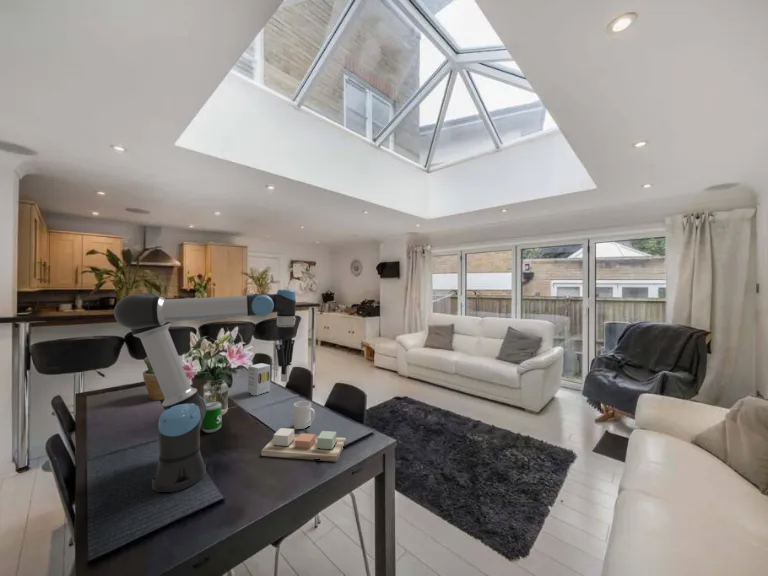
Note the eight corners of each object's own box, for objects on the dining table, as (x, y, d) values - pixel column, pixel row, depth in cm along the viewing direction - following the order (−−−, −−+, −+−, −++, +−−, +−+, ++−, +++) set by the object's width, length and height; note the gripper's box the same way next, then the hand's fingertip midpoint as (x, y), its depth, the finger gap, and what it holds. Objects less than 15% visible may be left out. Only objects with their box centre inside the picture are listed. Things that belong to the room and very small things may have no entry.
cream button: (288, 446, 122) (288, 435, 122) (273, 444, 123) (273, 434, 123) (294, 438, 128) (294, 428, 128) (280, 437, 129) (280, 428, 129)
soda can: (213, 434, 136) (213, 407, 135) (198, 432, 137) (198, 405, 137) (225, 426, 143) (225, 401, 143) (211, 425, 144) (211, 399, 144)
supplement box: (256, 396, 182) (256, 368, 181) (247, 393, 187) (247, 365, 186) (270, 392, 190) (270, 364, 189) (261, 389, 195) (261, 362, 195)
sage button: (332, 449, 120) (332, 439, 120) (317, 448, 121) (317, 438, 120) (336, 441, 126) (336, 431, 126) (322, 440, 126) (322, 430, 126)
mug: (290, 426, 143) (290, 404, 143) (303, 420, 150) (303, 399, 150) (307, 434, 136) (307, 410, 136) (320, 428, 143) (320, 405, 142)
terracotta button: (309, 451, 121) (309, 441, 121) (295, 450, 122) (295, 440, 122) (315, 443, 127) (315, 434, 127) (301, 442, 128) (301, 433, 128)
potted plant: (162, 390, 191) (162, 350, 191) (189, 392, 188) (189, 351, 188) (134, 401, 173) (134, 357, 173) (163, 403, 170) (163, 358, 170)
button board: (336, 461, 115) (336, 456, 115) (261, 455, 119) (261, 450, 119) (345, 442, 129) (345, 437, 129) (278, 437, 133) (278, 433, 133)
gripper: (287, 328, 124) (285, 386, 124) (300, 324, 137) (299, 377, 137) (269, 327, 125) (268, 385, 125) (284, 323, 138) (283, 376, 138)
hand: (284, 381), depth 131 cm, fingers closed
